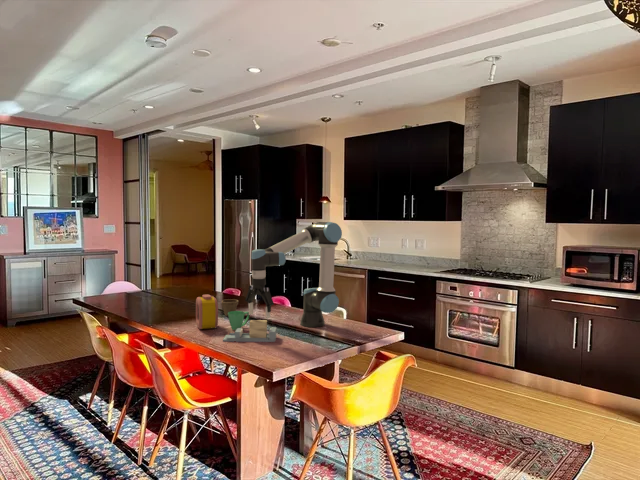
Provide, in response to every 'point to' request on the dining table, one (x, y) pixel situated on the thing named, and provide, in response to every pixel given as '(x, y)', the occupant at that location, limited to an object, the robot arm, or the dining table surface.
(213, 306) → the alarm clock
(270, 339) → the vise
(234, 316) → the mug
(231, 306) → the flower pot
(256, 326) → the maple block
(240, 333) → the slide jaw
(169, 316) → the dining table surface
